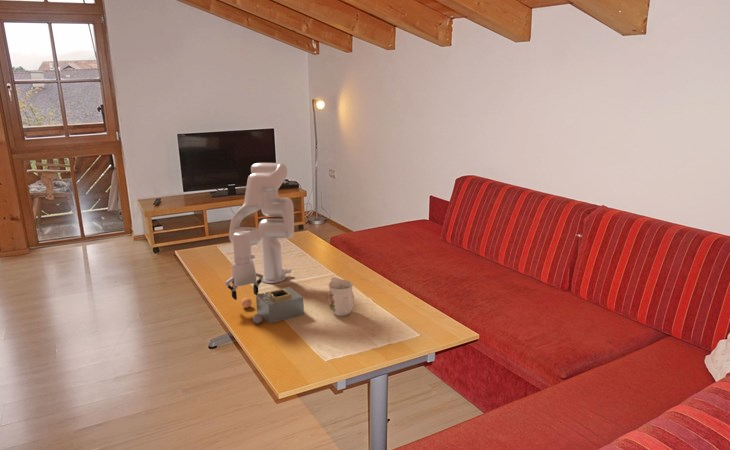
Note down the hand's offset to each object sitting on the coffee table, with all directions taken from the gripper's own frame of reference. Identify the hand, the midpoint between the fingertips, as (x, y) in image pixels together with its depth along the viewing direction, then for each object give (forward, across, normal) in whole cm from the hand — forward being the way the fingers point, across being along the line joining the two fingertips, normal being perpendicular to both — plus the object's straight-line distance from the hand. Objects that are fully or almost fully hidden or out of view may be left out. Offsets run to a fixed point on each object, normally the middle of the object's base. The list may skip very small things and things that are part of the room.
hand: (245, 296), depth 240 cm
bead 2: (+5, 0, +17) cm, 18 cm away
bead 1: (+6, -1, -1) cm, 6 cm away
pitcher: (+6, -33, +29) cm, 44 cm away
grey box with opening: (+6, -11, +13) cm, 18 cm away
